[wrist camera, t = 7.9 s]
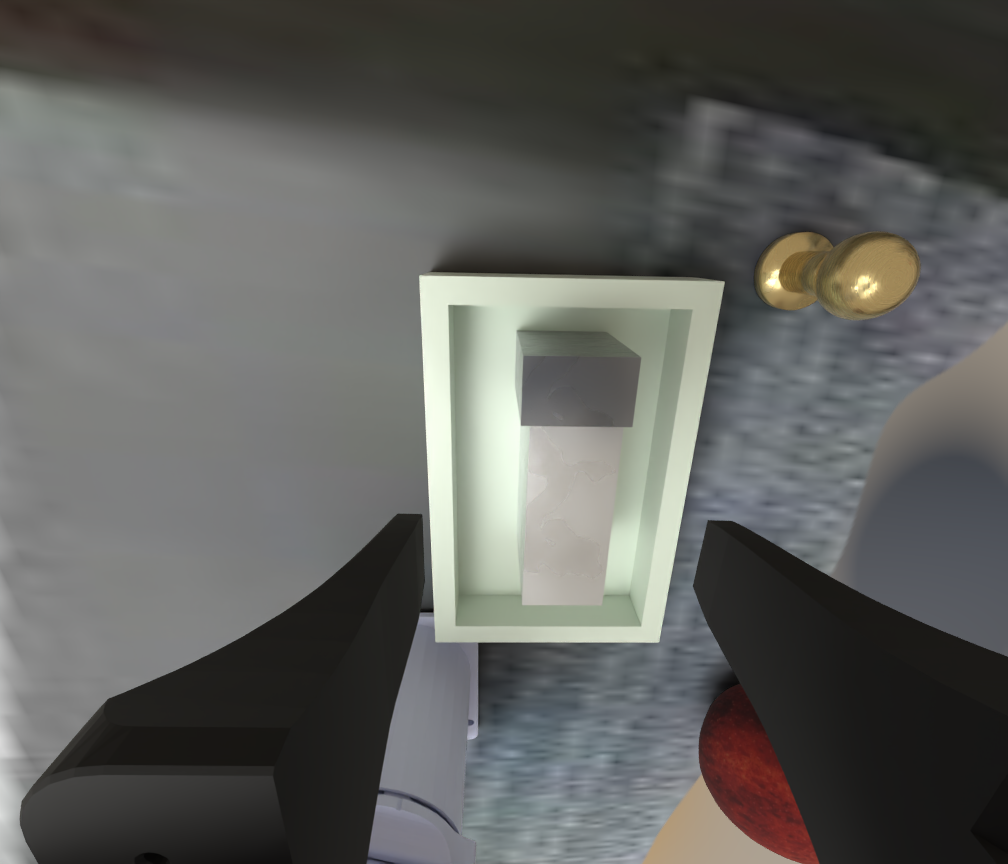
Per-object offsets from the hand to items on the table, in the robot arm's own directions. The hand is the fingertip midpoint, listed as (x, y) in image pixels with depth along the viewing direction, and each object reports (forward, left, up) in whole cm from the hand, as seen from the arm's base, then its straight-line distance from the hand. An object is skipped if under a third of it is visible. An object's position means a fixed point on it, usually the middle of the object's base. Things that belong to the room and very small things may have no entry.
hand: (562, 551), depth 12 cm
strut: (-1, -1, -10) cm, 10 cm away
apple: (-18, -13, -11) cm, 25 cm away
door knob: (+6, -10, -11) cm, 16 cm away
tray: (-2, -1, -11) cm, 11 cm away
